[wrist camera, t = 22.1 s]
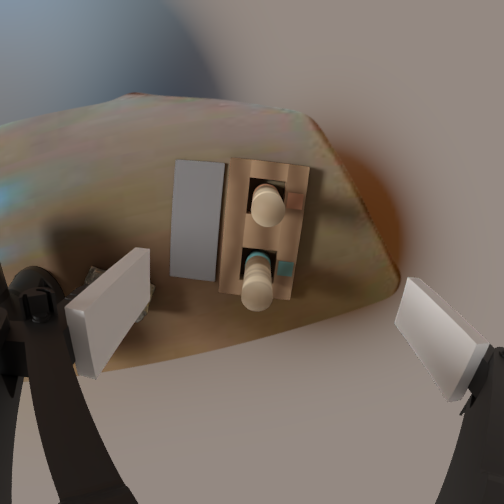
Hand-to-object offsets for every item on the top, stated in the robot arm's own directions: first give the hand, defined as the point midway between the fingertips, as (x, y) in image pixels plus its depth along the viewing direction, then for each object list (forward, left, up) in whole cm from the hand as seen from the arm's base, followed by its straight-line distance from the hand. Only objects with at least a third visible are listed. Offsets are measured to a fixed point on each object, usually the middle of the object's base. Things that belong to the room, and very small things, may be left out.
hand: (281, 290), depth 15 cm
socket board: (0, -6, -37) cm, 37 cm away
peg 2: (0, -11, -37) cm, 38 cm away
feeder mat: (-11, -6, -37) cm, 39 cm away
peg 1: (0, 0, -37) cm, 37 cm away
